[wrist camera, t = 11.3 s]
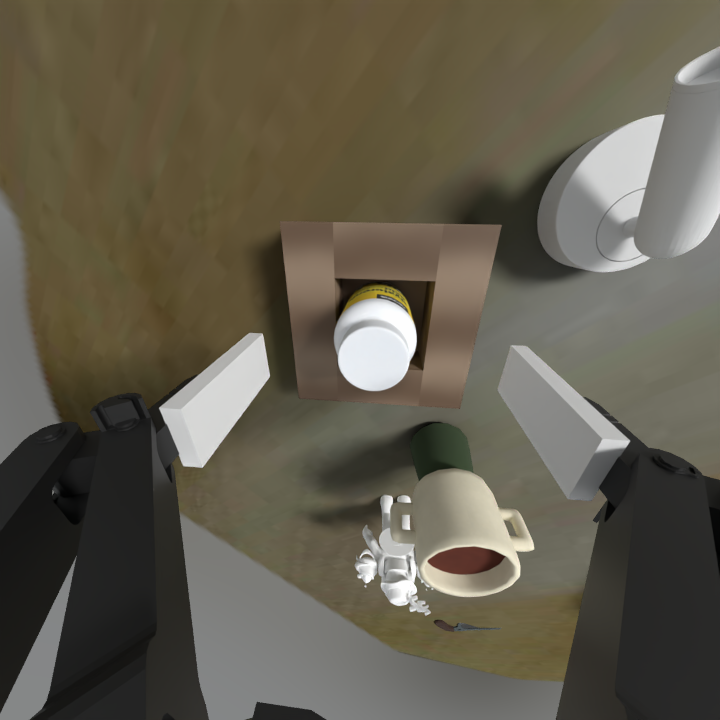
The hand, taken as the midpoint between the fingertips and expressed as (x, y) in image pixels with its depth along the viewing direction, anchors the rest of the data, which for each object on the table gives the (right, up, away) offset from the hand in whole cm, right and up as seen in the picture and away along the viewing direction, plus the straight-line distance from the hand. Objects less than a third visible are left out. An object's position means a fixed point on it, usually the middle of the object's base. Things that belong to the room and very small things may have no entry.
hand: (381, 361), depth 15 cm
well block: (+1, +5, +10) cm, 11 cm away
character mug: (+8, -9, +16) cm, 20 cm away
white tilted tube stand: (+16, +12, +5) cm, 20 cm away
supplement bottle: (0, +4, +9) cm, 10 cm away
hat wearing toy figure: (+4, -19, +21) cm, 29 cm away
